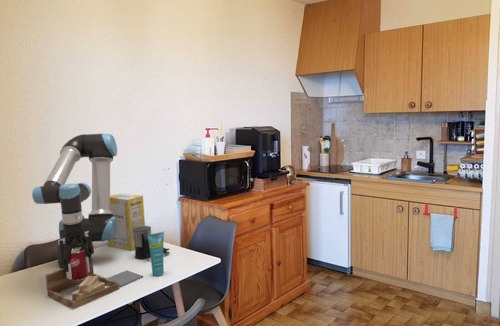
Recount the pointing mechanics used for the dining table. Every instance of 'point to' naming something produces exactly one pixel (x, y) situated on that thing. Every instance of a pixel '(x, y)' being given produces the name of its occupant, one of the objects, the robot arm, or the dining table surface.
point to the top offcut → (88, 284)
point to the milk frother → (143, 242)
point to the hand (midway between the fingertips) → (78, 274)
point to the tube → (156, 252)
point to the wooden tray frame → (61, 283)
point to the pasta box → (126, 219)
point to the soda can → (78, 264)
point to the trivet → (125, 278)
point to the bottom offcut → (77, 296)
